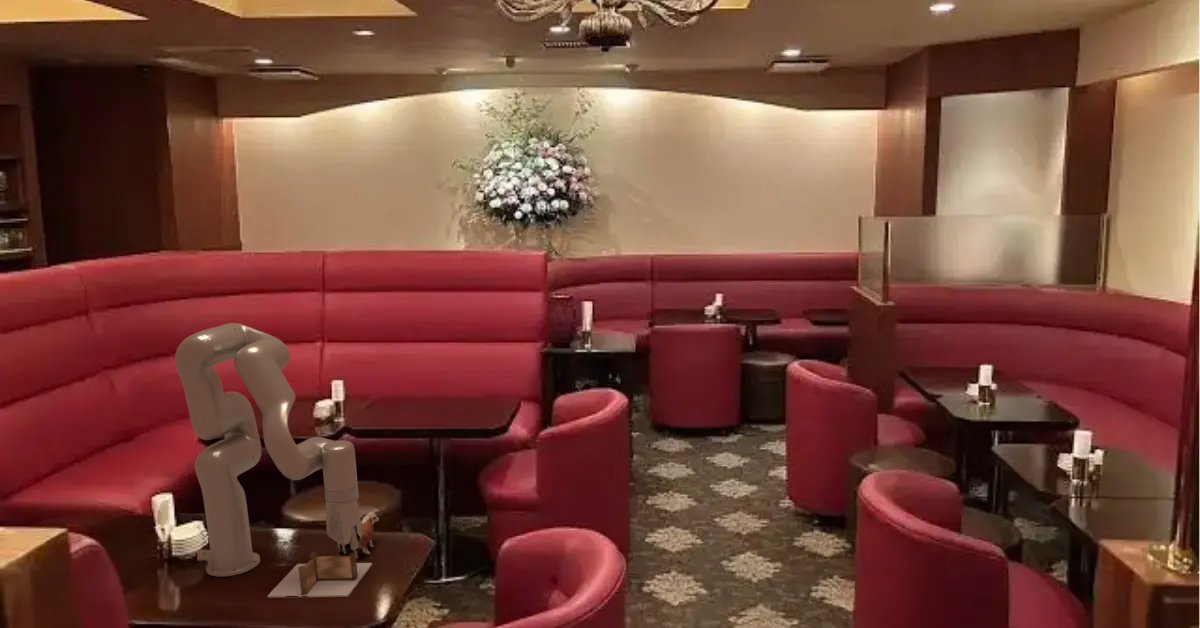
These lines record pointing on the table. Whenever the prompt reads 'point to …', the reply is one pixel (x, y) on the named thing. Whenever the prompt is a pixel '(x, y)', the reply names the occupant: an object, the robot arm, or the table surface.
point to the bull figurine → (367, 532)
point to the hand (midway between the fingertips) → (348, 566)
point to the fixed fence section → (307, 577)
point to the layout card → (319, 584)
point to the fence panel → (335, 566)
